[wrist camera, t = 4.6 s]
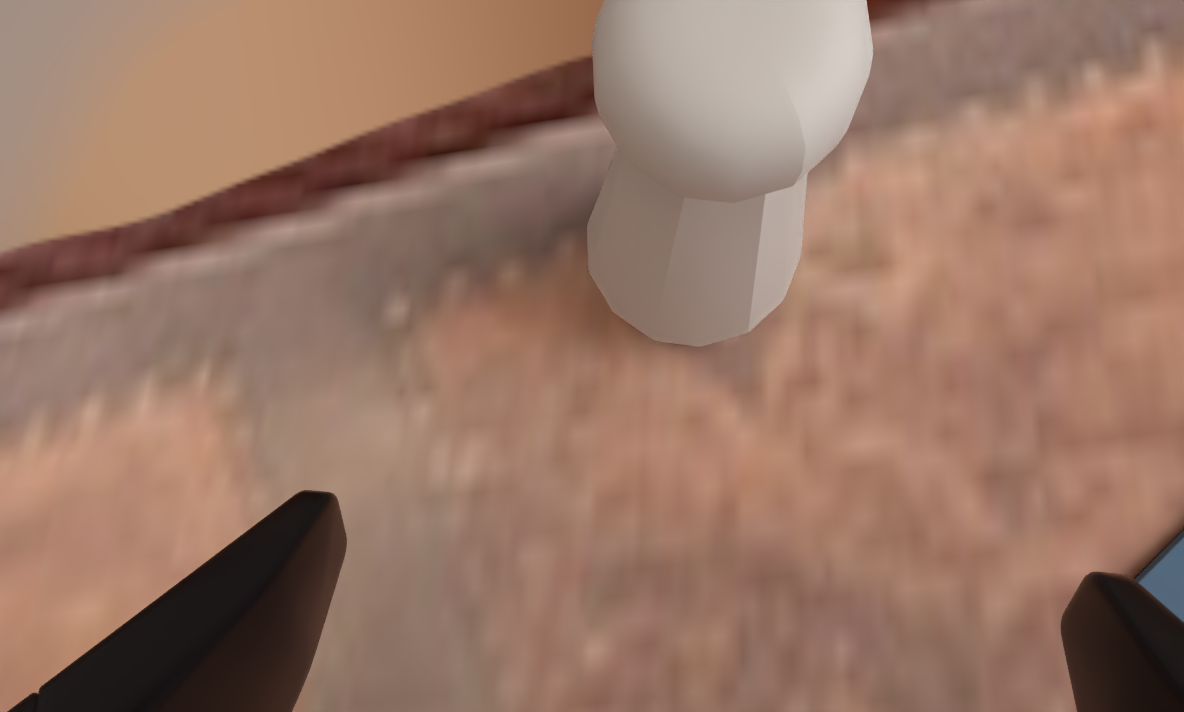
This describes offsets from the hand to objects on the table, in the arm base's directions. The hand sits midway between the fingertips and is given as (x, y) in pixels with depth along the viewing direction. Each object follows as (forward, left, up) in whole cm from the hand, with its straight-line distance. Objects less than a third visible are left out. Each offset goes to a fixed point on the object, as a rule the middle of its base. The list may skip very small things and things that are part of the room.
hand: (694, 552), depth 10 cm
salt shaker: (+4, -6, -14) cm, 16 cm away
